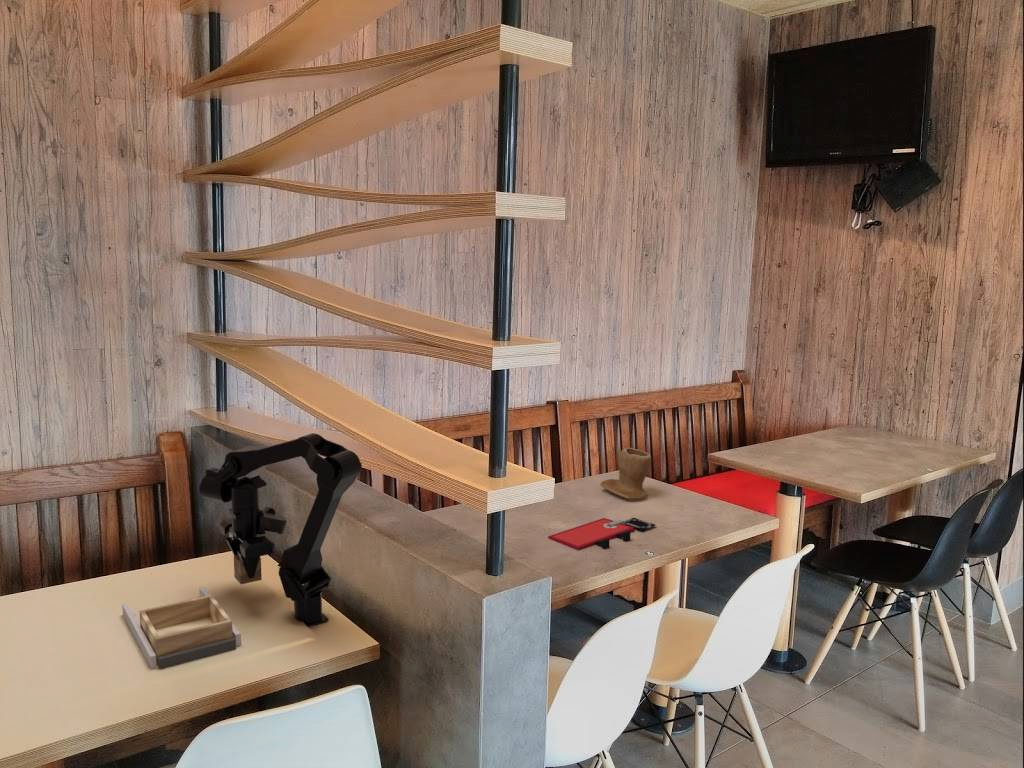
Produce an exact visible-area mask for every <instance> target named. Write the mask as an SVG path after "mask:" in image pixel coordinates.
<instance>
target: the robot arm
mask: <svg viewBox="0 0 1024 768" xmlns="http://www.w3.org/2000/svg"><path fill="white" fill-rule="evenodd" d="M300 457H302V458H303V459H304V460H305V462H306V464H307V466H308V468H309V469H310V471H311V472H313V473H315V474H316V479H315V480H316V485H317V493H316V496H315V498H314V501H313V504H312V506H311V509H310V511H309V513H308V514H309V515H308V517H307V519H306V522H305V525H304V527H303V529H302V532H301V533H300V534H301V535H300V537H299V540H298V543H296V544H294V545H292V546H290V547H288V548H285V549H284V550H283V553H282V556H281V560H280V562H279V563H278V564H277V567H278V576H279V579H280V582H281V586H282V589H283V592H284V596H285V597H286V598H287V599H290V600H291V601H293V612H294V614H293V617H294V619H295V620H296V621H297V622H303V624H304V625H305V626H306V627H311V626H315V625H318V624H322V623H326V622H328V621H329V617H327V615H326V614H325V613H324V612H323V597H322V596H323V593H322V591H323V590H325V589H326V588H329V587H330V584H331V582H332V578H331V576H330V575H329V574H328V572H326V570H325V569H324V567H323V566H322V563H323V556H322V552H321V549H322V547H323V543H324V541H325V539H326V536H327V534H328V531H329V530H330V529H329V528H330V527H331V524H332V522H333V519H334V516H335V513H336V512H337V509H338V506H339V504H340V502H341V498H342V496H343V495H344V494H345V493H346V491H347V490H348V489H349V488H350V487H352V485H353V484H354V482H355V481H356V480H357V478H358V476H359V475H360V474H361V472H362V468H363V467H362V466H363V465H362V463H361V461H360V458H359V456H358V454H356V453H355V452H354V451H352V450H349V449H347V448H346V447H344V446H343V445H341V444H340V443H339V444H338V443H336V442H334V441H331V440H328V439H326V438H324V437H323V436H322V435H321V434H318V433H309V434H306V435H303V436H300V437H298V438H295V439H290V440H288V441H283V442H280V443H275V444H273V445H268V446H266V445H248V446H245V447H241V448H239V449H236V450H233V451H230V452H228V453H226V455H225V458H224V463H223V464H222V465H221V467H220V469H219V468H216V467H210V468H207V469H206V470H205V475H204V476H203V478H202V479H201V482H200V485H199V487H198V489H199V494H200V496H201V498H204V499H206V500H212V501H215V502H222V503H230V504H231V506H230V507H231V508H228V514H229V515H230V516H231V518H227V519H223V520H222V521H221V523H220V524H219V530H220V534H221V535H222V536H227V535H228V536H227V537H226V538H225V541H226V543H227V544H228V546H229V549H230V550H231V551H232V554H233V556H234V555H239V557H240V559H241V562H242V564H243V566H244V568H245V571H246V573H247V575H248V577H249V578H254V576H255V572H256V569H257V565H258V562H259V559H260V558H261V557H262V556H268V555H274V553H275V552H276V551H275V543H274V542H273V541H272V540H271V539H270V538H269V537H267V536H265V535H266V532H271V533H277V534H278V535H284V532H285V529H286V525H287V523H288V520H287V519H286V518H285V517H284V516H283V515H281V514H279V513H276V509H275V508H274V507H271V506H265V508H264V509H262V508H261V509H260V490H259V489H262V488H264V487H266V486H268V483H267V482H266V481H265V480H264V479H263V478H261V476H260V474H259V475H255V476H252V477H248V475H252V474H254V473H256V472H259V471H261V470H263V469H265V468H267V467H268V466H270V465H273V464H276V463H279V462H285V461H289V460H291V459H295V458H300ZM323 457H324V458H323ZM258 535H259V536H258ZM260 535H263V536H260Z"/></svg>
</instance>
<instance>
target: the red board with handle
mask: <svg viewBox="0 0 1024 768" xmlns="http://www.w3.org/2000/svg"><path fill="white" fill-rule="evenodd" d="M655 526H656V524H655V523H652V522H649V521H647V520H646V521H645V520H643V519H639V518H636V517H631V518H628V519H625V520H621V519H617V520H612V519H608V518H606V517H603V518H599V519H596V520H594V521H591V522H588V523H584V524H582V525H579V526H575V527H573V528H570V529H565V530H563V531H559V532H558V533H554V534H552V535H548V536H547V538H548V539H549V540H551V541H554V542H556V543H559V544H562V545H564V546H566V547H568V548H571V549H573V550H575V551H582V550H584V549H587V548H589V547H593V546H601V549H603V550H606V549H609V548H610V540H613V539H616V538H619V539H620V538H621V539H622V541H623V543H627V542H630V541H631V533H632V532H635V529H637V530H639V531H644V530H647V529H649V528H652V527H655Z"/></svg>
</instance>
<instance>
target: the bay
mask: <svg viewBox="0 0 1024 768" xmlns="http://www.w3.org/2000/svg"><path fill="white" fill-rule="evenodd" d="M198 589H199V590H198V591H199V594H198V595H199V597H204V596H208V595H211V593H210V592H209V591H208V590H207V589H206V587H205V586H200V587H198ZM121 605H122V606H121V609H122V616H123V618H124V620H125V622H126V624H127V625H128V628H129V630H130V631H131V633H132V635H133V637H134V639H135V641H136V643H137V644H138V647H139V648H140V651H141V653H142V655H143V656H144V658H145V660H146V662H147V664H148V667H149V668H150V670H153V669H156V668H157V667H158V668H159V670H162V669H167V668H171V667H174V666H178V665H181V664H185V663H190V662H193V661H197V660H201V659H204V658H207V657H212V656H215V655H218V654H219V655H221V654H223V653H226V652H231V651H235V650H236V649H237V647H239V646H242V633H241V632H240V631H239V629H238V628H237V626H236V625H235V624H234V623H233V622H232V632H233V638H231V639H227V640H223V641H219V642H216V643H212V644H208V645H204V646H200V647H196V648H192V649H188V650H184V651H181V652H177V653H173V654H169V655H165V656H161V657H158V664H157V663H156V654H155V652H154V651H153V649H152V647H151V645H150V643H149V642H148V640H147V638H146V636H145V634H144V632H143V631H142V629H141V627H140V622H138V619H137V618H136V616H135V615H134V612H133V610H132V608H131V607H130V605H129V603H128V602H126V603H122V604H121Z"/></svg>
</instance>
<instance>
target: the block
mask: <svg viewBox="0 0 1024 768" xmlns="http://www.w3.org/2000/svg"><path fill="white" fill-rule="evenodd" d="M233 570H234V571H233V572H234V573H233V576H234V579H235V580H236V581H237V582H238V584H240V585H244V584H245V585H246V584H249V583H253V582H254V583H255V582H259V581H262V579H263V578H262V576H263V575H262V557H260V559H259V562H258V565H257V569H256V572H255V576H254V578H249V577H248V575H247V573H246V571H245V568H244V566H243V564H242V562H241V559H240V557H239V555H234V554H233Z"/></svg>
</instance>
